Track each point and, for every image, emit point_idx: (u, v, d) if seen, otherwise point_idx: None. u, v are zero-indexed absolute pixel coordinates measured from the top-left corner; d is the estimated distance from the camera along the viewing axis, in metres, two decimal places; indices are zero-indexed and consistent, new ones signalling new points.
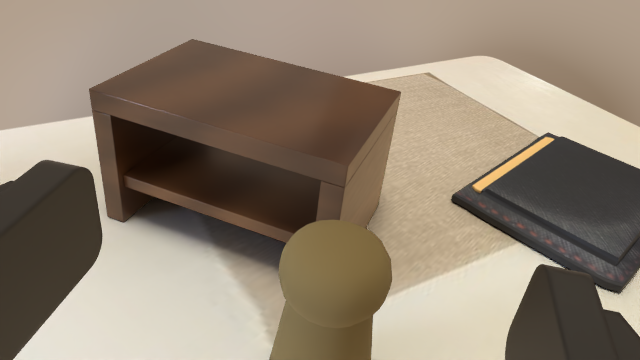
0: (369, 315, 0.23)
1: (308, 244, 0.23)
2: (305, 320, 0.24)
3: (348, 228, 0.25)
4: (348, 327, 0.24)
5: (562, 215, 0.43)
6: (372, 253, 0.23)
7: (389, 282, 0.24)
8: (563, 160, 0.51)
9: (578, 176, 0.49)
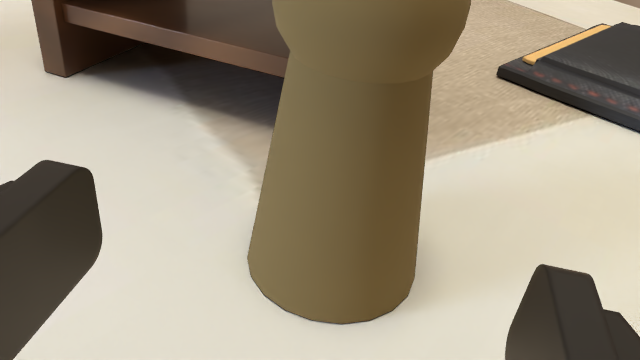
0: (435, 53, 0.13)
1: None
2: (319, 75, 0.14)
3: None
4: (395, 84, 0.14)
5: None
6: None
7: (468, 1, 0.13)
8: (631, 38, 0.41)
9: None
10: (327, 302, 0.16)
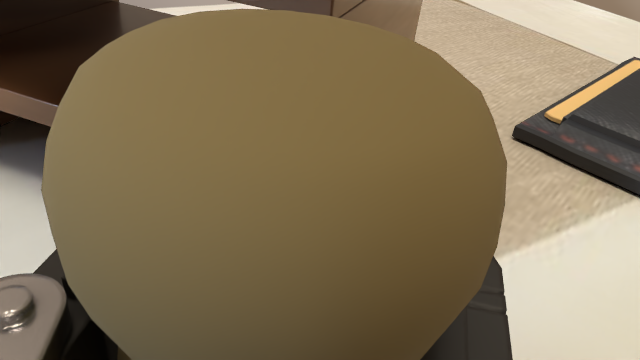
0: (421, 351, 0.05)
1: (154, 42, 0.05)
2: None
3: (332, 19, 0.07)
4: None
5: None
6: (434, 80, 0.05)
7: (502, 210, 0.06)
8: None
9: None
10: None
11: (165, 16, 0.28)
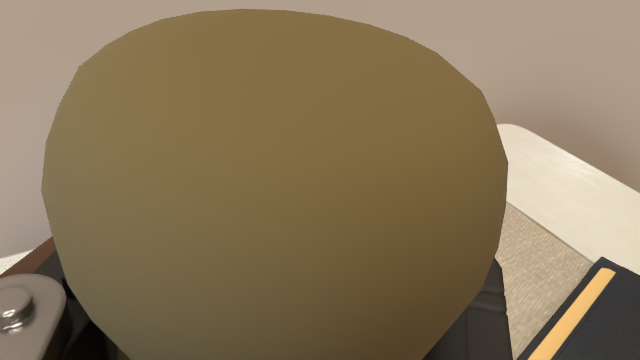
0: (422, 352, 0.05)
1: (154, 42, 0.05)
2: None
3: (332, 19, 0.07)
4: None
5: None
6: (434, 79, 0.05)
7: (503, 211, 0.06)
8: (633, 319, 0.38)
9: None
10: None
11: None
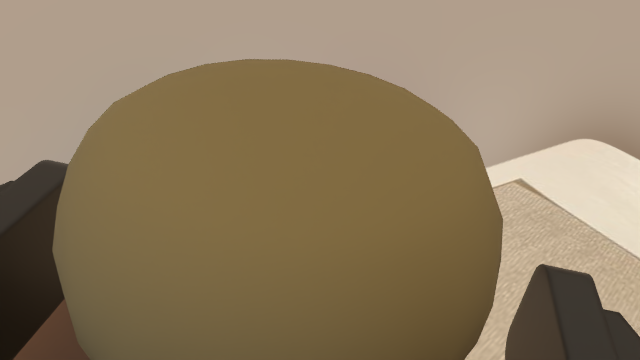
0: None
1: (161, 107, 0.06)
2: None
3: (332, 73, 0.07)
4: None
5: None
6: (431, 143, 0.06)
7: (497, 267, 0.06)
8: None
9: None
10: None
11: None
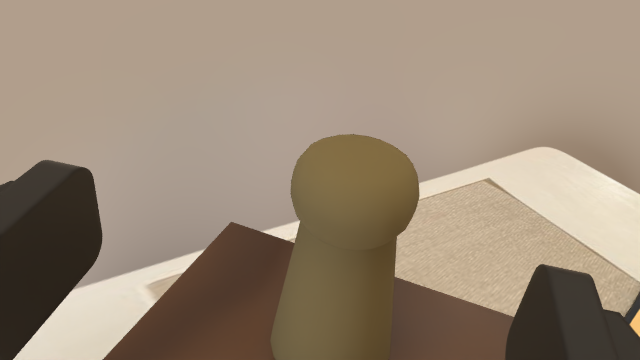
0: (394, 234, 0.20)
1: (324, 153, 0.21)
2: (321, 242, 0.21)
3: (369, 140, 0.22)
4: (370, 250, 0.21)
5: None
6: (397, 163, 0.21)
7: (416, 197, 0.21)
8: None
9: None
10: None
11: None
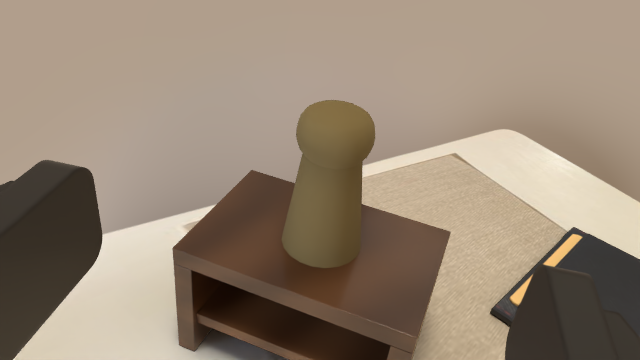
0: (359, 158, 0.34)
1: (317, 110, 0.34)
2: (315, 165, 0.35)
3: (345, 103, 0.35)
4: (344, 169, 0.34)
5: None
6: (361, 116, 0.34)
7: (373, 137, 0.34)
8: (592, 266, 0.55)
9: (607, 285, 0.52)
10: (318, 258, 0.37)
11: None
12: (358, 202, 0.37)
